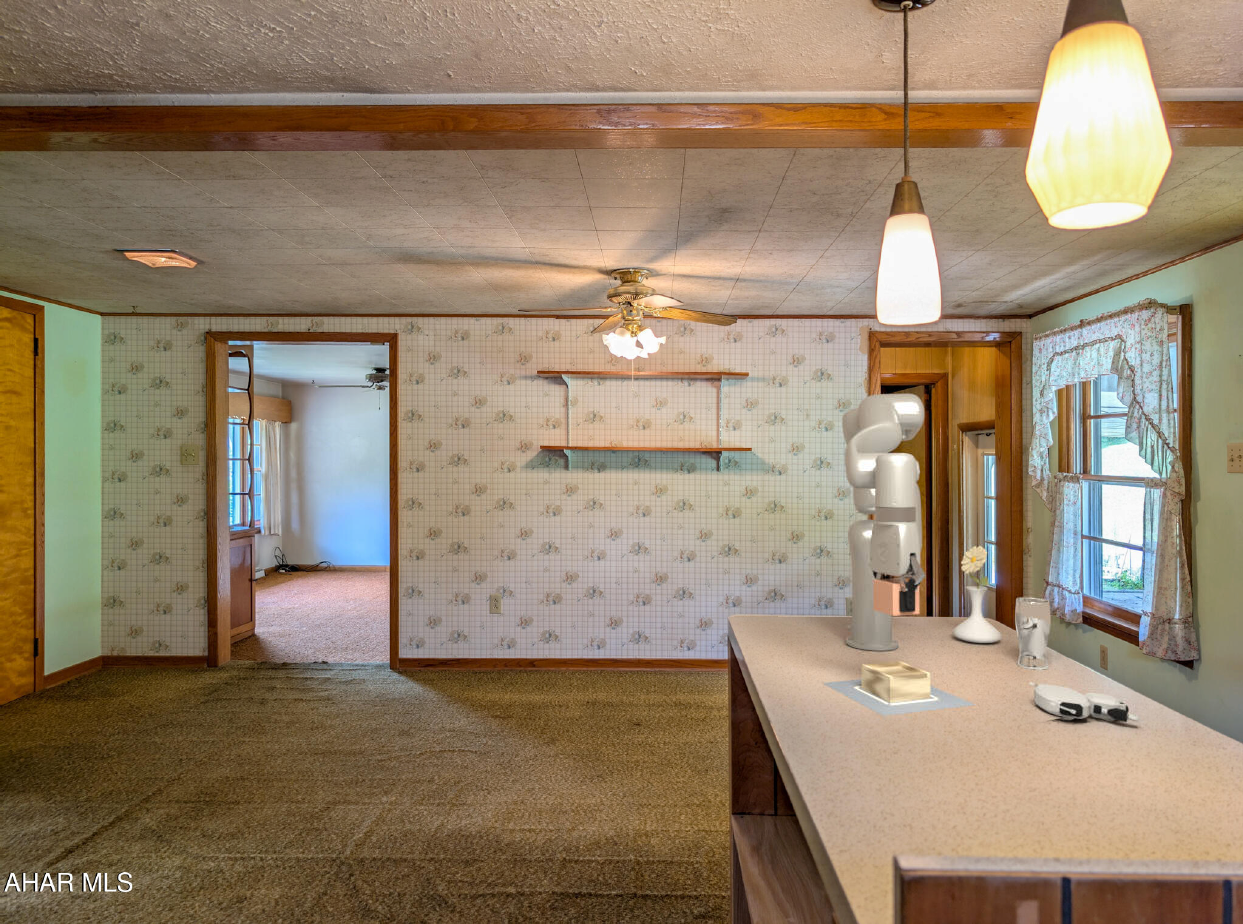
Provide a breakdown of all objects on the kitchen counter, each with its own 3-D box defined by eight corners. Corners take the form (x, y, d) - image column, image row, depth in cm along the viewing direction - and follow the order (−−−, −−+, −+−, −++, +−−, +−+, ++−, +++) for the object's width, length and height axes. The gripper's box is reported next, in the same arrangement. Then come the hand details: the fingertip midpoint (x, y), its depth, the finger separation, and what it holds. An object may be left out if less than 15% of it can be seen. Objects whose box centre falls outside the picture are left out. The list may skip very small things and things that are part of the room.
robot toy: (1112, 713, 135) (1024, 701, 139) (1114, 689, 135) (1026, 678, 139) (1142, 737, 123) (1045, 723, 127) (1145, 711, 123) (1047, 698, 127)
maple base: (861, 688, 144) (861, 664, 144) (899, 684, 147) (899, 660, 147) (890, 702, 136) (890, 677, 136) (930, 698, 138) (930, 673, 138)
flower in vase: (947, 634, 193) (947, 541, 193) (994, 636, 191) (993, 542, 191) (960, 647, 181) (959, 547, 181) (1010, 649, 178) (1009, 547, 178)
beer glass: (1041, 662, 166) (1041, 597, 166) (1056, 671, 160) (1056, 603, 160) (1010, 661, 167) (1009, 596, 167) (1023, 670, 160) (1023, 602, 160)
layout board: (822, 687, 148) (822, 682, 148) (905, 679, 154) (905, 674, 154) (883, 721, 129) (883, 714, 129) (975, 709, 135) (975, 704, 135)
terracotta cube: (873, 609, 144) (873, 579, 144) (899, 608, 145) (898, 578, 145) (892, 615, 138) (892, 584, 138) (919, 613, 140) (919, 582, 140)
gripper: (852, 514, 149) (853, 601, 149) (908, 519, 132) (909, 618, 132) (883, 513, 151) (884, 599, 151) (942, 518, 135) (943, 615, 134)
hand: (895, 607), depth 142 cm, fingers closed on terracotta cube, 6 cm apart
